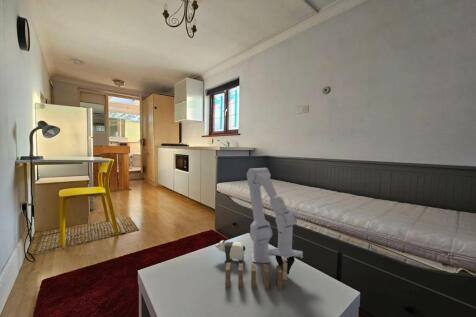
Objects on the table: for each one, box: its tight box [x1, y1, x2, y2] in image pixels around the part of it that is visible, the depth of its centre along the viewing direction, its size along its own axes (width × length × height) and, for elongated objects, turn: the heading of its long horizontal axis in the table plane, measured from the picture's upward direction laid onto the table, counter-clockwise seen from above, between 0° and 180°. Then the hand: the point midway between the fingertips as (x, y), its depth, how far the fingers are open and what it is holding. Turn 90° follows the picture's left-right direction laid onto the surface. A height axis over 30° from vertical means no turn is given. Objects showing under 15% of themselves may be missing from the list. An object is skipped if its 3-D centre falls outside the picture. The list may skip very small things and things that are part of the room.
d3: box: [250, 263, 257, 290], centre depth 78 cm, size 4×2×7 cm, turn 177°
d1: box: [224, 262, 232, 288], centre depth 78 cm, size 4×2×7 cm, turn 177°
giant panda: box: [215, 239, 246, 265], centre depth 94 cm, size 15×6×10 cm, turn 78°
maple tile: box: [281, 256, 288, 281], centre depth 83 cm, size 4×2×7 cm, turn 177°
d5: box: [275, 264, 283, 291], centre depth 77 cm, size 4×2×7 cm, turn 177°
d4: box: [263, 264, 270, 290], centre depth 78 cm, size 4×2×7 cm, turn 177°
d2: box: [237, 263, 244, 289], centre depth 78 cm, size 4×2×7 cm, turn 177°
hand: (283, 272), depth 83 cm, fingers open, 2 cm apart
